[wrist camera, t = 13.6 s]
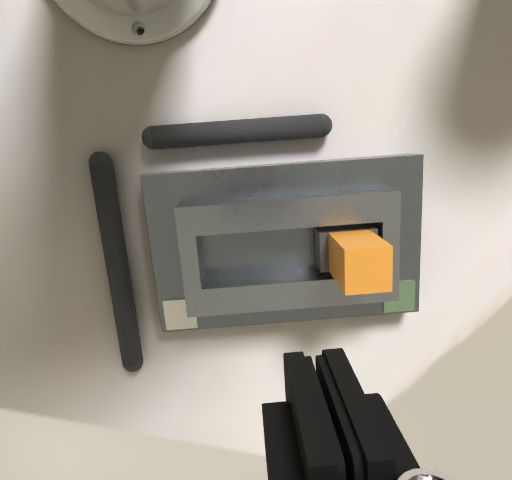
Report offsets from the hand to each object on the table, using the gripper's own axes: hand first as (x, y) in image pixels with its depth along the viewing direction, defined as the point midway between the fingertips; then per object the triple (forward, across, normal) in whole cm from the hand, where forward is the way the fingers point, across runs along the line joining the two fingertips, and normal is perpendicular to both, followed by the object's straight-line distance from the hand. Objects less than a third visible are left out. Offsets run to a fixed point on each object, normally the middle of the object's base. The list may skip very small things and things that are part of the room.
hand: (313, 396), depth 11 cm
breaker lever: (+18, -5, +1) cm, 19 cm away
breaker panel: (+20, -2, +1) cm, 21 cm away
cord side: (+21, +2, -7) cm, 22 cm away
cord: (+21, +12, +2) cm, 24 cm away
